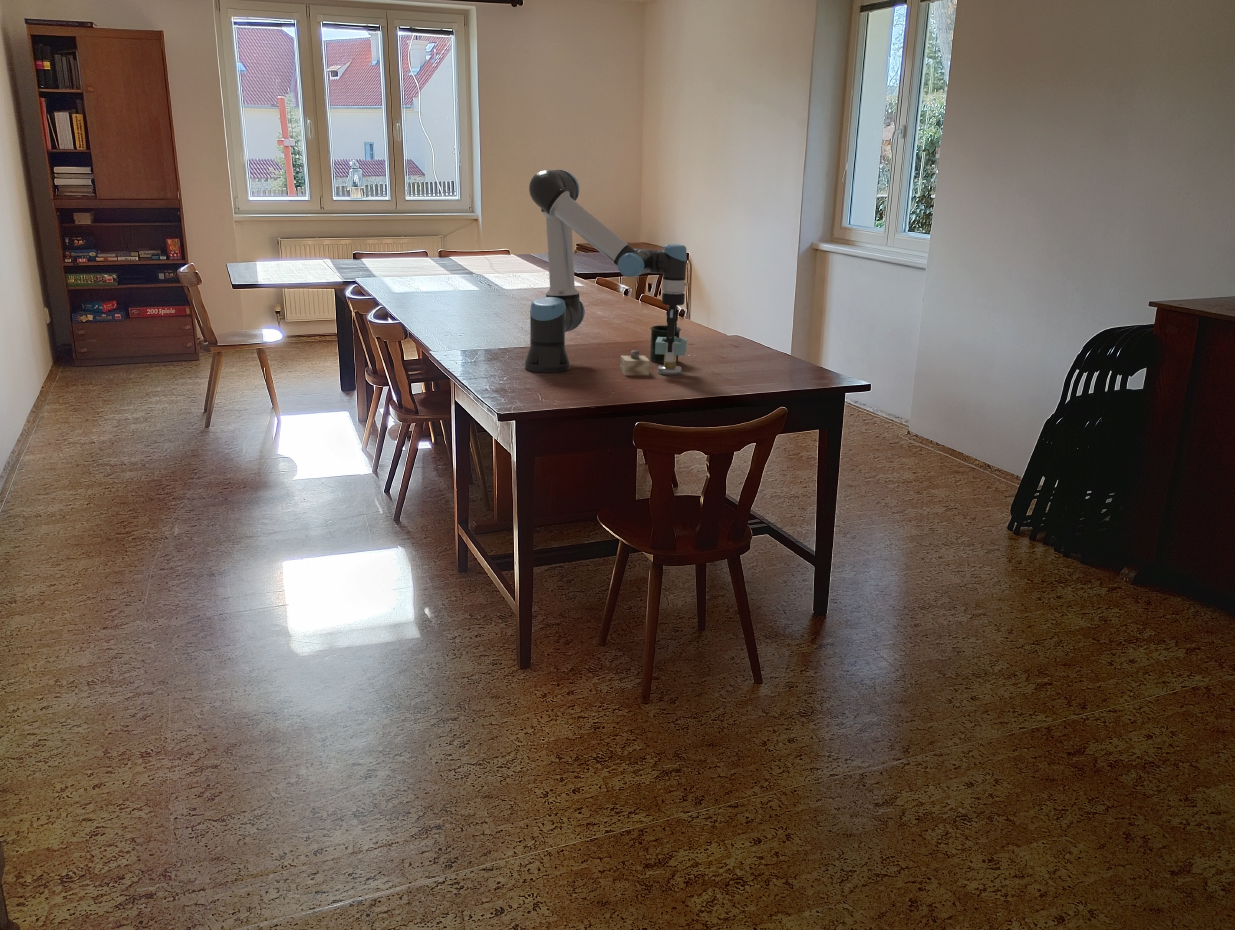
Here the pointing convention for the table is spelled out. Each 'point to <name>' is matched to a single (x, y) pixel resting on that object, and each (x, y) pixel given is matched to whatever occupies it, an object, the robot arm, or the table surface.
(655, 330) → the mug
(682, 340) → the teal square ring
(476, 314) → the table surface
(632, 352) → the stand
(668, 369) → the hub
